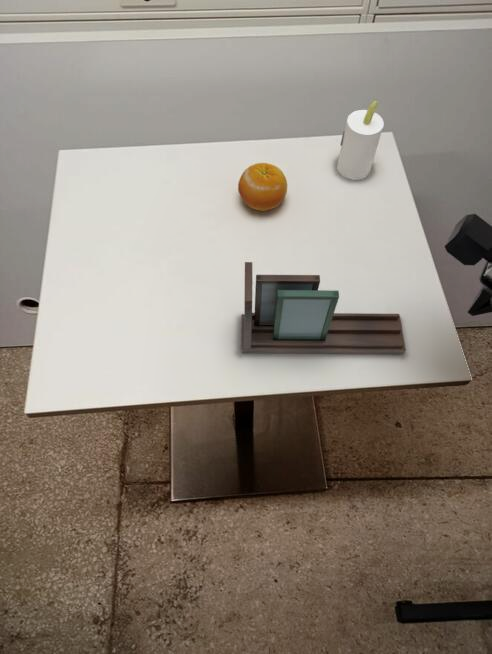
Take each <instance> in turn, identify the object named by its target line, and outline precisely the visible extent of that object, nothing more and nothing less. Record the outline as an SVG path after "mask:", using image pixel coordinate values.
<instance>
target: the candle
mask: <svg viewBox="0 0 492 654" xmlns="http://www.w3.org/2000/svg"><path fill="white" fill-rule="evenodd" d="M377 104H378V101H377V100H376V99H375V100H374V101H373V102H372V103H371V104H370V105H369V107H368V109H358V110H354V111H353V112H351V113H350V114H349V115H348V116H347V119H346V124H345V129H344V130H343V132H342V136H341V141H340V151H339V155H338V159H337V167H336V168H337V172H338V173H339V174H340V175H341V176H342V177H343V178H345V179H347V180H352V181H359V180H363V179H365V178H367V176H369V175H370V172H371V169H372V166H373V163H374V159H375V156H376V153H377V149H378V146H379V141H380V139H381V136H382V132H383V129H384V127H385V126H384V125H385V123H384V119H383V118H382V116H381V115H380V114H378V113H377V112H375V111H376V108H377Z"/></svg>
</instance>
